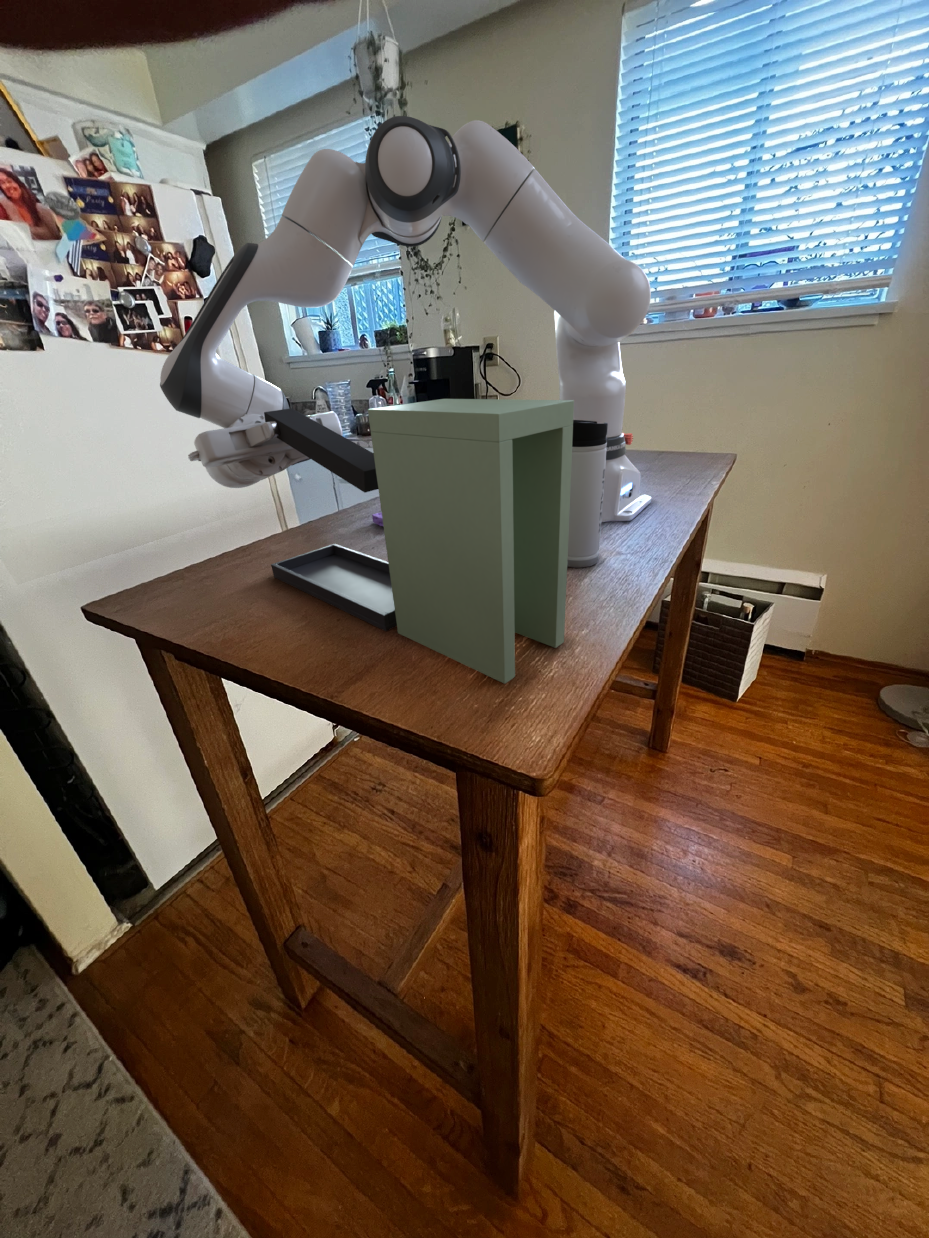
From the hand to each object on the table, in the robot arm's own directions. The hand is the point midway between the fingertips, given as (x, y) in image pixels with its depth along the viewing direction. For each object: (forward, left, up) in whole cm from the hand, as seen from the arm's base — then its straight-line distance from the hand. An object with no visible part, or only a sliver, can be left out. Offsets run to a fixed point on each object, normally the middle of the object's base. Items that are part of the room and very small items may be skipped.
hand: (293, 424), depth 65 cm
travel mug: (-27, +27, -21) cm, 43 cm away
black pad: (0, +7, -3) cm, 7 cm away
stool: (-1, +31, -21) cm, 37 cm away
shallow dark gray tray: (-1, +8, -21) cm, 23 cm away
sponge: (-27, -11, -21) cm, 36 cm away
